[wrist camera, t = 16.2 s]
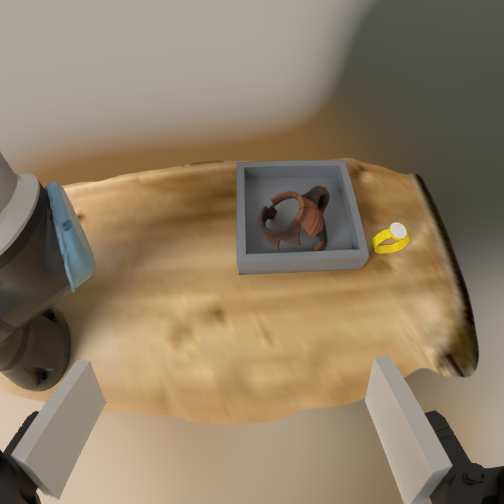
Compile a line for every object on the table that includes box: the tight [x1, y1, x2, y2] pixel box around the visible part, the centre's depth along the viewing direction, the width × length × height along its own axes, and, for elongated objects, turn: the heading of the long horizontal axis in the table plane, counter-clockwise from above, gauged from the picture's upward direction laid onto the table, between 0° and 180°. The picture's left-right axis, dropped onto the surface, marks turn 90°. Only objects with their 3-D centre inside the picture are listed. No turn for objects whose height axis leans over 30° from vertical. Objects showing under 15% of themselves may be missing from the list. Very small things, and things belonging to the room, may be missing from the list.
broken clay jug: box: [258, 186, 330, 251], centre depth 46 cm, size 12×9×8 cm
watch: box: [372, 222, 410, 254], centre depth 44 cm, size 6×3×6 cm, turn 96°
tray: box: [237, 160, 369, 275], centre depth 48 cm, size 18×18×4 cm
